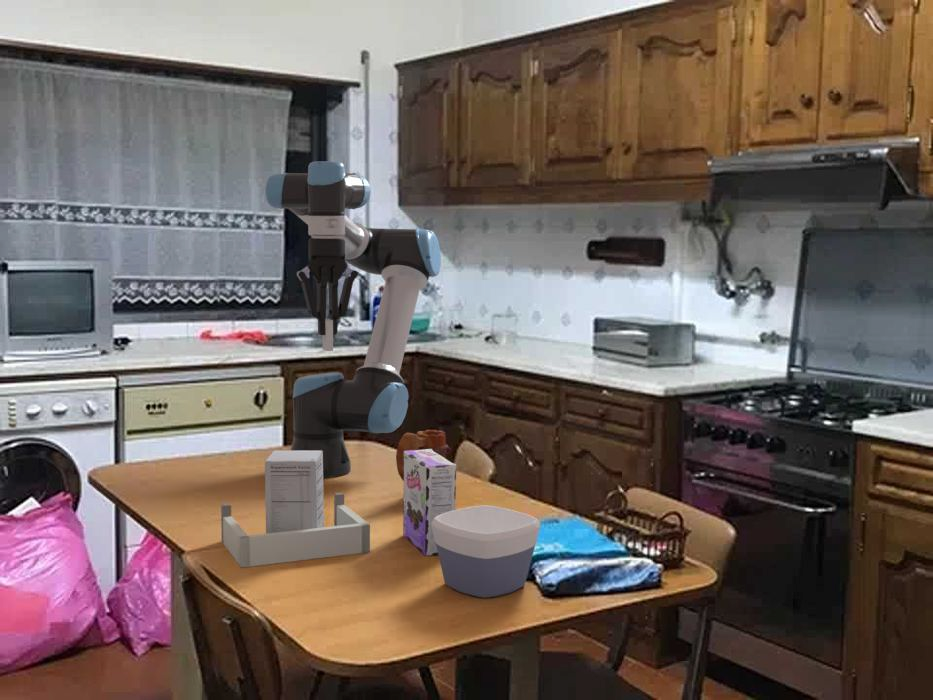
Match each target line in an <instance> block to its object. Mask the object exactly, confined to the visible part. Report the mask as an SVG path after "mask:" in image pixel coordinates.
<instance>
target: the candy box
mask: <svg viewBox="0 0 933 700" xmlns="http://www.w3.org/2000/svg"><path fill="white" fill-rule="evenodd" d="M456 490H457V464H456V463H453V462H451V461H450V460H449V459H447V458H446V459H445V458H444V457H442V456H441V455H439V454H438V453H436V452H434V451H433V450H432V449H421V450H409V451H404V481H403V516H402V517H403V520H402V521H403V522H402V523H403V524H402V525H403V528H402V530H403V532H402V533H403V536H404V537H405V538H406V539H407V540H408V542H410V543H411V544H412V545H413V546H414V547H416V548H417V549H418V550H419V551H420V552H421V553H422V554H423V555H424V556H425V557H426V556H439V555H438V551H437V547H436V543H435V539H434V535H433V530H432V526H431V523H432V520H433V519H434V518H435V517H436V516H438V515H441V514H444V513H446V512H450V511H453V510H456Z"/></svg>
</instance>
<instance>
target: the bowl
mask: <svg viewBox="0 0 933 700" xmlns="http://www.w3.org/2000/svg"><path fill="white" fill-rule="evenodd" d="M431 526H432V530H433V535H434V539H435V543H436V547H437V551H438V555H437V556H438V558H439V563H440V568H441V572H442V576H443V581H444V584H445V585H447V587H449V588H450V589H451V588H452V590H454V591H457V592H459V593H462V594H465V595H468V596H472V597H476V598H480V597H481V598H482V599H489V598H495V597H500V596H504V595H508V594H510V593H513V592H515V591H517V590H519V589H521V588H523V587H524V586H525V584H526V581H527V578H528V574H529V570H530V566H531V563H532V560H533V556H534V551H535V548H536V545H537V541H538V537H539V533H540V530H541V523H540V521H539V519H537V518H536V517H534V516H532V515H529V514H527V513H524V512H520V511H517V510H513V509H509V508H505V507H500V506H495V505H486V504H484V505H475V506H468V507H463V508H458V509H455V510H453V511H450V512H446V513H444V514H441V515H438V516H436V517H435V518H434V519H433V520H432V523H431Z"/></svg>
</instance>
